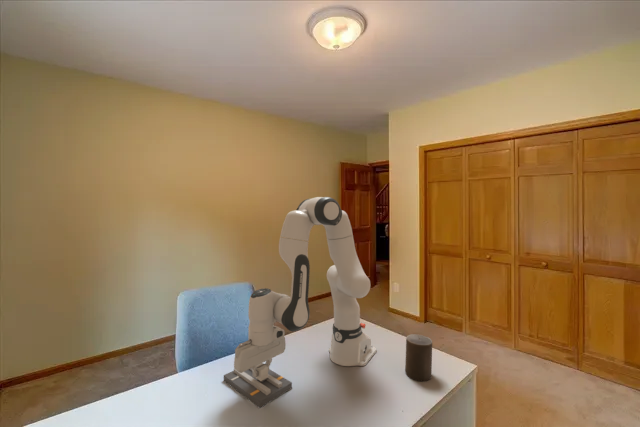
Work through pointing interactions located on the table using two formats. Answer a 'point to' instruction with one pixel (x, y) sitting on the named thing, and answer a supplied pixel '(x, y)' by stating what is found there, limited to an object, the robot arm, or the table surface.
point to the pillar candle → (418, 357)
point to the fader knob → (262, 372)
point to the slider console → (258, 386)
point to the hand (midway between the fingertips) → (261, 373)
